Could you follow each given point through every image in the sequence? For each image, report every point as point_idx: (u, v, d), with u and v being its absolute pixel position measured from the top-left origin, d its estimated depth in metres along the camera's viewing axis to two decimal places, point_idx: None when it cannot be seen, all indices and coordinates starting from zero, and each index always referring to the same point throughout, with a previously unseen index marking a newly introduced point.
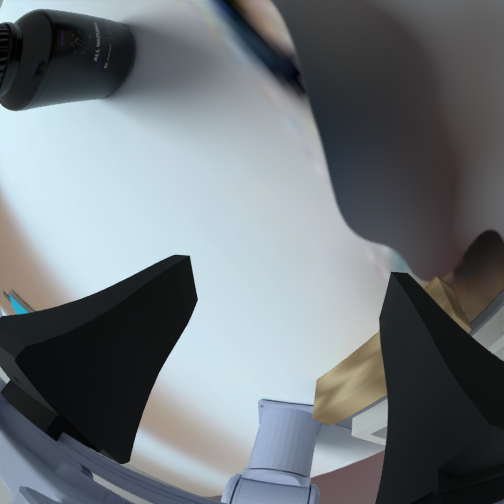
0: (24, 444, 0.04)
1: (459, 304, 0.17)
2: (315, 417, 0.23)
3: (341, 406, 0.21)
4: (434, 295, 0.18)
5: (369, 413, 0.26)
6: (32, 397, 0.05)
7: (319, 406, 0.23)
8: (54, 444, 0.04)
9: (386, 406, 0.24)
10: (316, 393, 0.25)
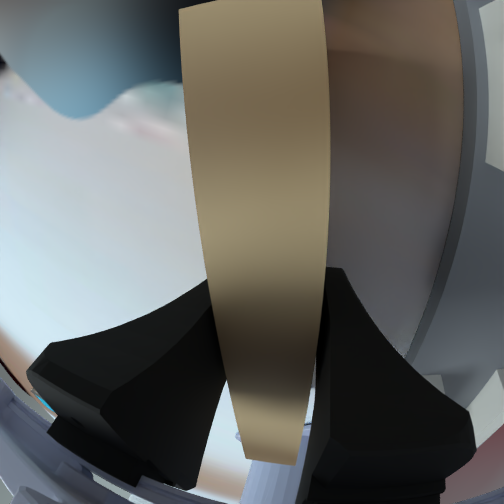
0: (24, 444, 0.04)
1: None
2: (247, 456, 0.11)
3: (251, 432, 0.09)
4: None
5: None
6: (96, 439, 0.04)
7: None
8: (54, 444, 0.04)
9: None
10: None
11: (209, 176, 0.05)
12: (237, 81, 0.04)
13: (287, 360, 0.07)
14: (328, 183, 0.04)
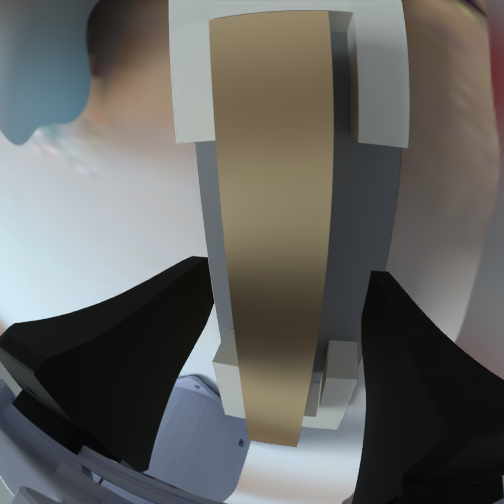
0: (24, 444, 0.04)
1: None
2: (251, 437, 0.12)
3: (256, 409, 0.10)
4: None
5: None
6: (48, 409, 0.04)
7: None
8: (54, 444, 0.04)
9: None
10: None
11: (232, 162, 0.06)
12: (259, 84, 0.05)
13: (294, 330, 0.08)
14: (331, 169, 0.05)
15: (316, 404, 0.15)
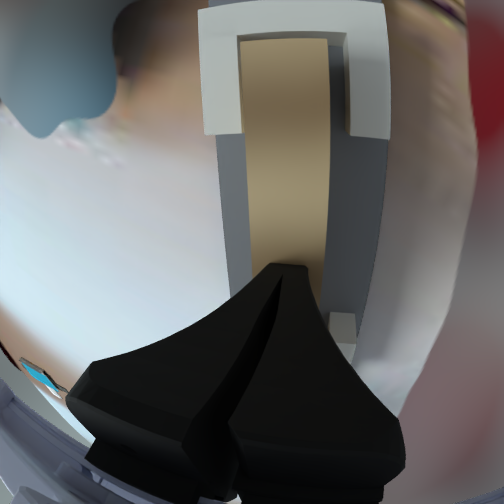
0: (24, 444, 0.04)
1: None
2: None
3: None
4: None
5: None
6: (147, 463, 0.04)
7: None
8: (54, 444, 0.04)
9: None
10: None
11: (256, 147, 0.08)
12: (277, 92, 0.07)
13: None
14: (329, 153, 0.07)
15: None
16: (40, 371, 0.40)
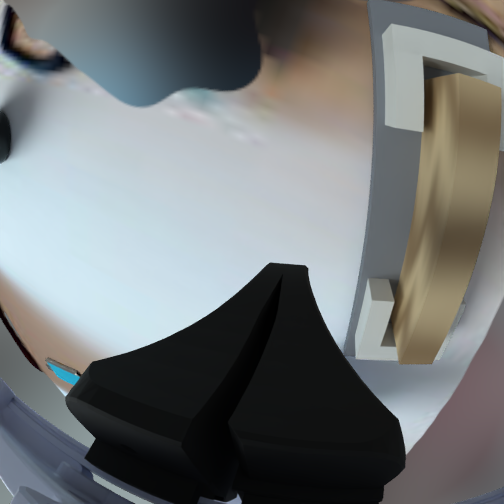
0: (24, 444, 0.04)
1: None
2: (402, 360, 0.15)
3: (424, 322, 0.13)
4: (433, 94, 0.10)
5: (362, 314, 0.19)
6: (147, 463, 0.04)
7: (401, 342, 0.15)
8: (54, 444, 0.04)
9: (369, 288, 0.17)
10: (394, 330, 0.17)
11: (463, 148, 0.09)
12: (477, 114, 0.08)
13: (470, 245, 0.10)
14: (497, 159, 0.08)
15: None
16: (73, 372, 0.41)
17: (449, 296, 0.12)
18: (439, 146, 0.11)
